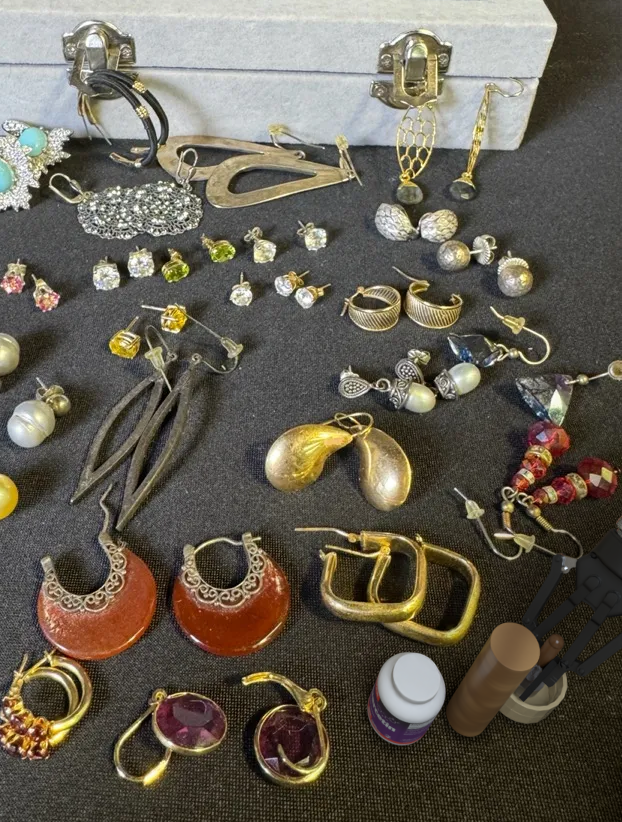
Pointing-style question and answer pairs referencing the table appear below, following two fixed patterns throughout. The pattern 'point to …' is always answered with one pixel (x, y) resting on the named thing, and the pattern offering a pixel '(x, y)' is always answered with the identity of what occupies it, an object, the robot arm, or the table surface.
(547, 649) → the wooden handled stamp
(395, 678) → the pill bottle
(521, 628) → the wooden dowel cylinder
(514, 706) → the bowl
